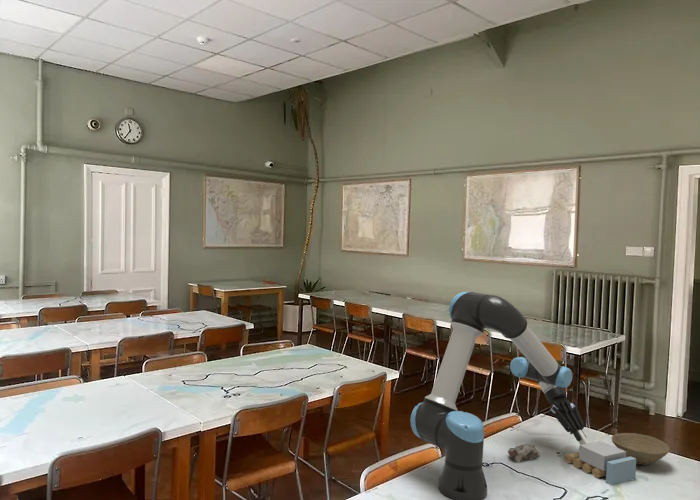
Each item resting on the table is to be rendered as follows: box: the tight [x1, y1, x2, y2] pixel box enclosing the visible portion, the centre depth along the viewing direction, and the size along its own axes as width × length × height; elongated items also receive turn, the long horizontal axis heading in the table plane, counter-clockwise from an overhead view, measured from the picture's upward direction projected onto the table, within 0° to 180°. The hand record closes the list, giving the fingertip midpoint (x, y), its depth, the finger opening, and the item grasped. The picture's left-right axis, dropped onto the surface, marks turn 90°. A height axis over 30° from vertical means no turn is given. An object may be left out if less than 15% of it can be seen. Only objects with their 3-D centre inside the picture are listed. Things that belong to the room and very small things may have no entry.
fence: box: [605, 456, 637, 486], centre depth 173 cm, size 12×2×7 cm, turn 115°
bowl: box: [611, 432, 671, 466], centre depth 188 cm, size 18×18×8 cm
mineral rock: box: [507, 444, 540, 463], centre depth 190 cm, size 15×8×4 cm, turn 110°
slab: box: [578, 440, 626, 471], centre depth 180 cm, size 11×10×5 cm
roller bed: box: [563, 451, 607, 478], centre depth 183 cm, size 12×15×3 cm
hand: (587, 448), depth 185 cm, fingers closed
